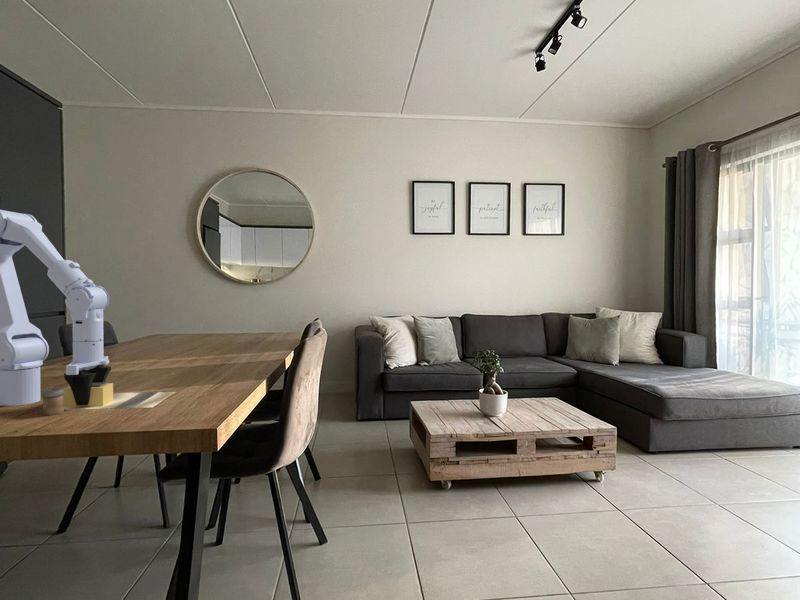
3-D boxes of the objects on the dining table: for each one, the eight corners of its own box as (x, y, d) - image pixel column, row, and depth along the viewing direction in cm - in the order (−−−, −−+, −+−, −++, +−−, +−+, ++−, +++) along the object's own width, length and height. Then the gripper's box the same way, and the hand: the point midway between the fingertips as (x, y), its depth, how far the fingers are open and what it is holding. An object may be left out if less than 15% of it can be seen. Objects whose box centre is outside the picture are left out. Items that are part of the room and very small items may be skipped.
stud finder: (62, 407, 104) (62, 386, 104) (75, 401, 109) (74, 382, 109) (103, 405, 105) (102, 385, 105) (113, 400, 110) (113, 381, 110)
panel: (51, 415, 101) (51, 410, 101) (88, 398, 117) (88, 393, 117) (152, 412, 104) (152, 407, 104) (175, 396, 120) (175, 391, 120)
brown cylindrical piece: (38, 422, 96) (38, 392, 96) (49, 417, 100) (48, 388, 100) (58, 421, 97) (58, 391, 97) (67, 416, 101) (67, 388, 100)
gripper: (91, 344, 100) (92, 409, 100) (121, 337, 114) (122, 394, 115) (54, 344, 99) (55, 410, 99) (89, 337, 113) (90, 395, 114)
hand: (88, 402), depth 107 cm, fingers closed on stud finder, 5 cm apart
